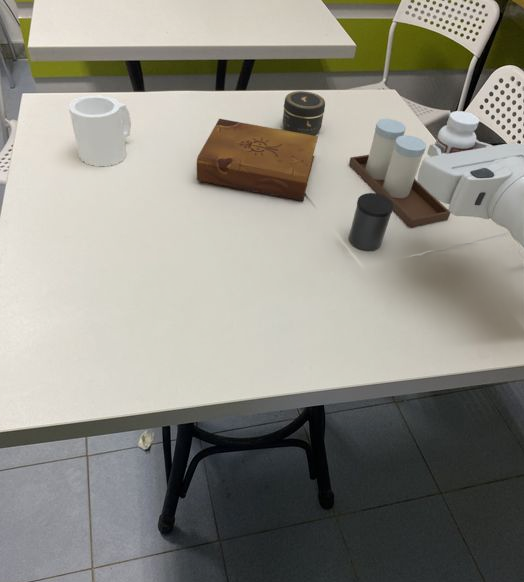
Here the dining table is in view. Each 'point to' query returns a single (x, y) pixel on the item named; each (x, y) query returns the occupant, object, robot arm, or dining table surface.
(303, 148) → the diary
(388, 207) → the grey tin
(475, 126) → the pill bottle
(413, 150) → the white bottle
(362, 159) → the tray
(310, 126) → the jar
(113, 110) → the mug
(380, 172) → the white bottle
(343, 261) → the dining table surface
